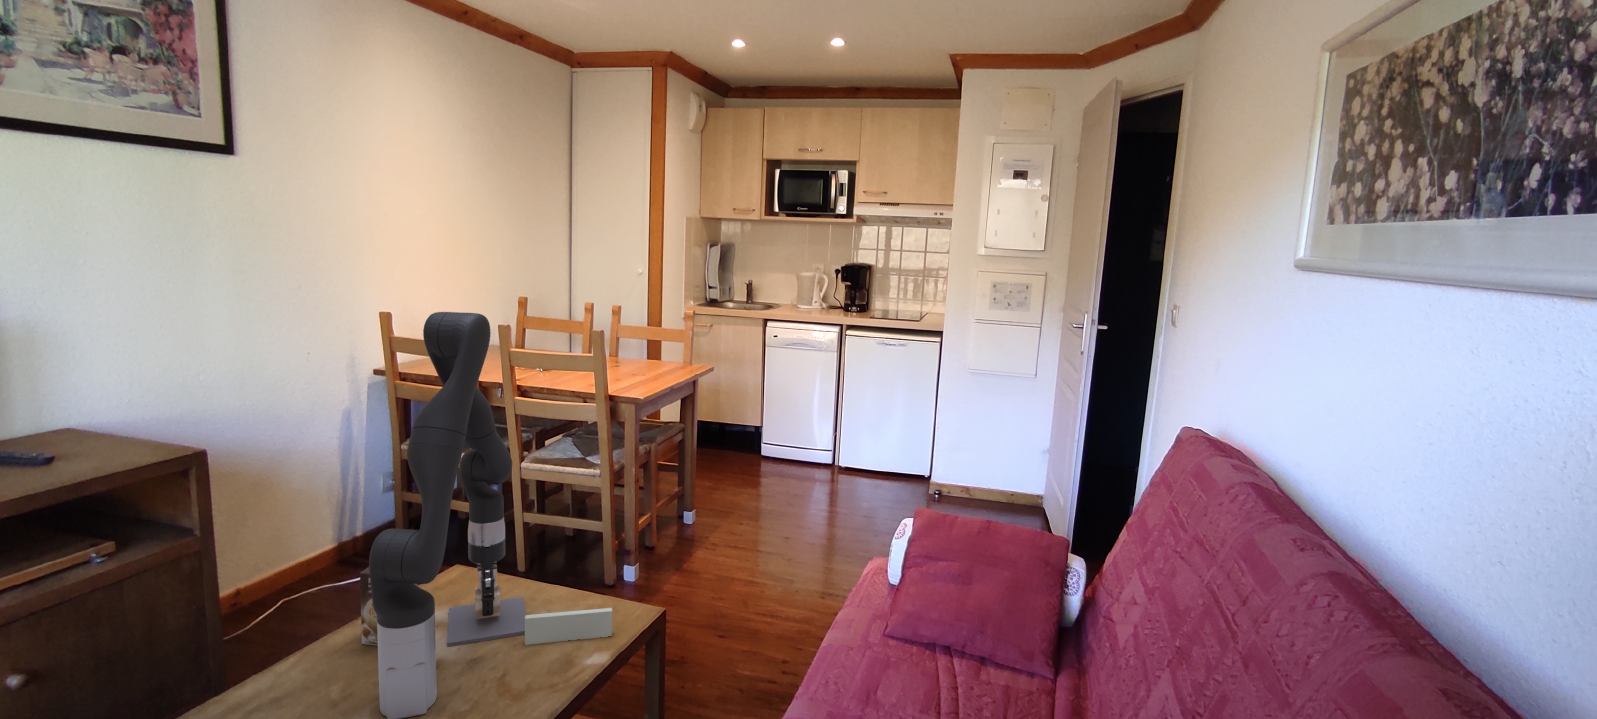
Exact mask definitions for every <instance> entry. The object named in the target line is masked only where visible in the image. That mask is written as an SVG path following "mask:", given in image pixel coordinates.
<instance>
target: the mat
mask: <svg viewBox="0 0 1597 719" xmlns="http://www.w3.org/2000/svg"><path fill="white" fill-rule="evenodd" d="M524 600H525V599H524V597H514V598H508V599H500V615H499V616H493V617H486V618H479V619H476V615H475V603H472V604H465V605H464V604H463V605H459V606H458V605H457V606H452V607H451V606H449V607H448V619H447V636H446V637H447V642H446V643H447V644H446V646H447V648H448V647H454V646H461V645H467V644H473V643H478V642H479V643H480V642H484V641H485V642H486V641H490V640H491V641H492V640H497V639H503V638H504V639H505V638H510V637H515V636H522V635H523V636H524V635H525V615H527V614H526V607H525V601H524Z"/></svg>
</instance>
